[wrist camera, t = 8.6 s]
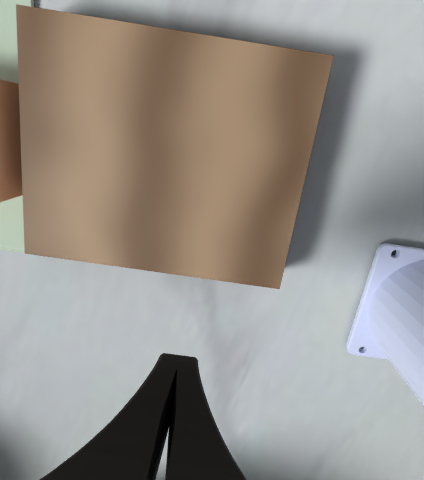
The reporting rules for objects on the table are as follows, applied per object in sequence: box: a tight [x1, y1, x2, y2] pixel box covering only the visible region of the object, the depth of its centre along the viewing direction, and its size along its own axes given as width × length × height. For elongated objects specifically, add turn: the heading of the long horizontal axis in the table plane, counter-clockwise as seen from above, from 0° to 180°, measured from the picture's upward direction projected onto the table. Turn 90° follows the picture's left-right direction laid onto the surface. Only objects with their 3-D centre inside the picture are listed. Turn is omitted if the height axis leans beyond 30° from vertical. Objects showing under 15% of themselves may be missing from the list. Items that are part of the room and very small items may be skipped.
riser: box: [16, 4, 334, 289], centre depth 18 cm, size 14×12×2 cm
